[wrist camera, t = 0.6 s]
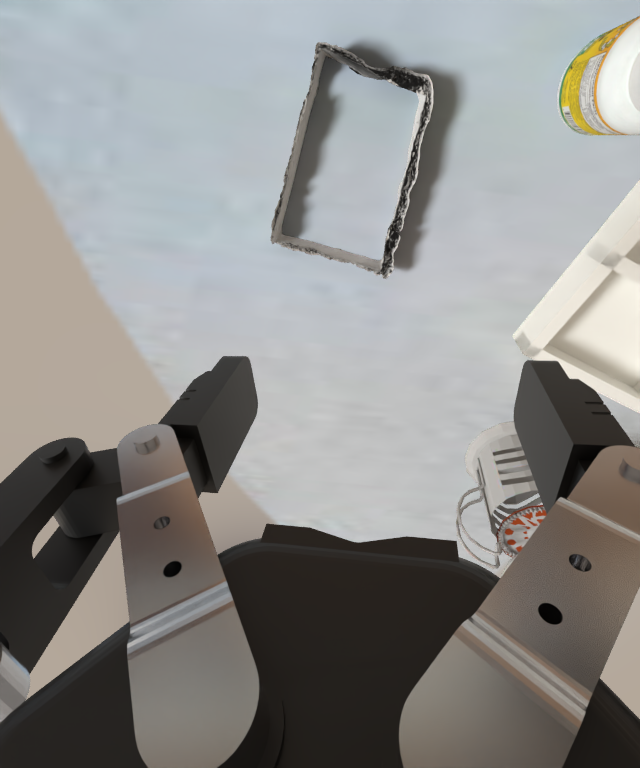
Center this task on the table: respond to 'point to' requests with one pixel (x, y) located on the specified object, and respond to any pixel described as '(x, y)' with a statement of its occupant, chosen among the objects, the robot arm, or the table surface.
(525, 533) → the french press
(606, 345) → the rack
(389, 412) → the table surface
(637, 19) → the supplement bottle
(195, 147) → the table surface
